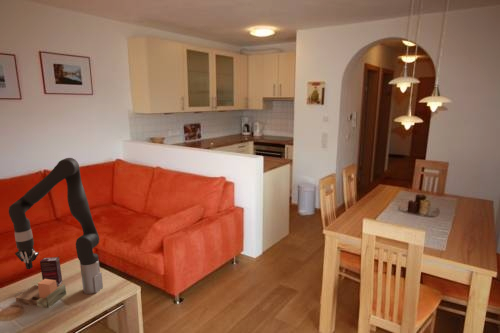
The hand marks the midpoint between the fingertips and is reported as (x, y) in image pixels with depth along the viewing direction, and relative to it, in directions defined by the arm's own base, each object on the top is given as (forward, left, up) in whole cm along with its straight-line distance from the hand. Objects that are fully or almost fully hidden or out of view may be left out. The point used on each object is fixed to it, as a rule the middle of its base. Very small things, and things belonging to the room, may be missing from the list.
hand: (29, 268), depth 172 cm
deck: (-6, +1, -17) cm, 18 cm away
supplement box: (-1, -12, -17) cm, 21 cm away
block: (-11, +1, -14) cm, 18 cm away
